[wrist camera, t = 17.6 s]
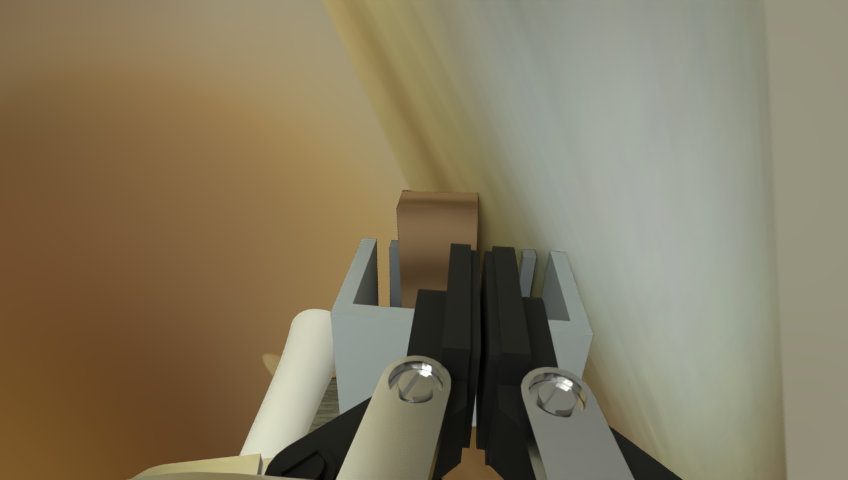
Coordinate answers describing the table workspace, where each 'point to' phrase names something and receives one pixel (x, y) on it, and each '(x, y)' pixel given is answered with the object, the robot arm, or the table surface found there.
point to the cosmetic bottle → (295, 386)
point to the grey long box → (391, 326)
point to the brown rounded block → (432, 237)
